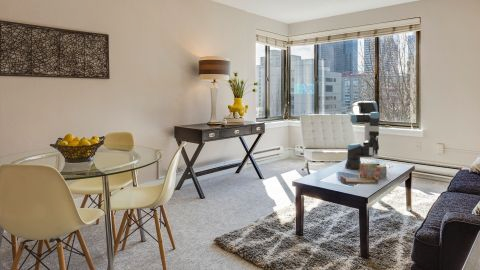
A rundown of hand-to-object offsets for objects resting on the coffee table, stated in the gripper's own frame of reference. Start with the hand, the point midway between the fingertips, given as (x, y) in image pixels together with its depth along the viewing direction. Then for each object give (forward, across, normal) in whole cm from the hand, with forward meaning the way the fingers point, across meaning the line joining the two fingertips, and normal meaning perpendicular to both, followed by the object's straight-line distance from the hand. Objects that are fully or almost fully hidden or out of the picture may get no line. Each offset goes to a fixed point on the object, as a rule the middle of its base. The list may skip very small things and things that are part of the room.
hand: (373, 156), depth 283 cm
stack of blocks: (+18, 0, 0) cm, 18 cm away
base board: (+18, +15, -15) cm, 28 cm away
